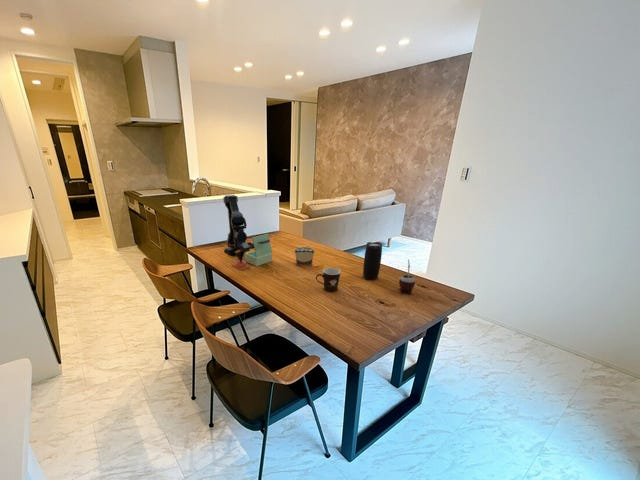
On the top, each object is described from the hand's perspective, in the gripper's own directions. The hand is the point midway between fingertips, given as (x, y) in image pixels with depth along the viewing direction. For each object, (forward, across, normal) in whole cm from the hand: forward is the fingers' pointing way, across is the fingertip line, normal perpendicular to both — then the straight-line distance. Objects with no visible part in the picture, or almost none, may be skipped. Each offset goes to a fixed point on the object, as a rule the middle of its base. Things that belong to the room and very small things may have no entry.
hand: (240, 261), depth 181 cm
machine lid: (-8, +14, -4) cm, 17 cm away
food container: (+4, +32, -23) cm, 40 cm away
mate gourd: (+3, +41, -84) cm, 94 cm away
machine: (+3, +14, 0) cm, 14 cm away
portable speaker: (+4, +43, -63) cm, 76 cm away
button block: (+3, 0, 0) cm, 3 cm away
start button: (+2, 0, 0) cm, 2 cm away
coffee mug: (+3, +15, -56) cm, 58 cm away
